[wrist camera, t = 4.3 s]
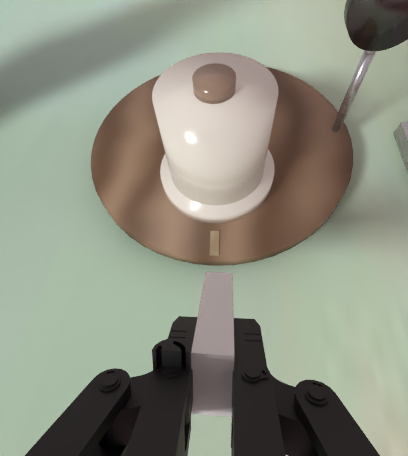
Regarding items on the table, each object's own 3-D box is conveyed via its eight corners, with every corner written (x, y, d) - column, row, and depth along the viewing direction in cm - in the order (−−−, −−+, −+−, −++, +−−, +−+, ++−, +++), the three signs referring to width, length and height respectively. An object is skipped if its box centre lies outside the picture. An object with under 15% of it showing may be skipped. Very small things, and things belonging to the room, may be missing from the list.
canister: (156, 222, 27) (120, 135, 18) (169, 136, 32) (146, 34, 23) (275, 224, 26) (305, 134, 17) (268, 136, 31) (288, 29, 22)
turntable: (67, 261, 27) (58, 254, 26) (121, 75, 41) (117, 64, 39) (374, 269, 25) (383, 262, 24) (326, 71, 38) (330, 58, 37)
